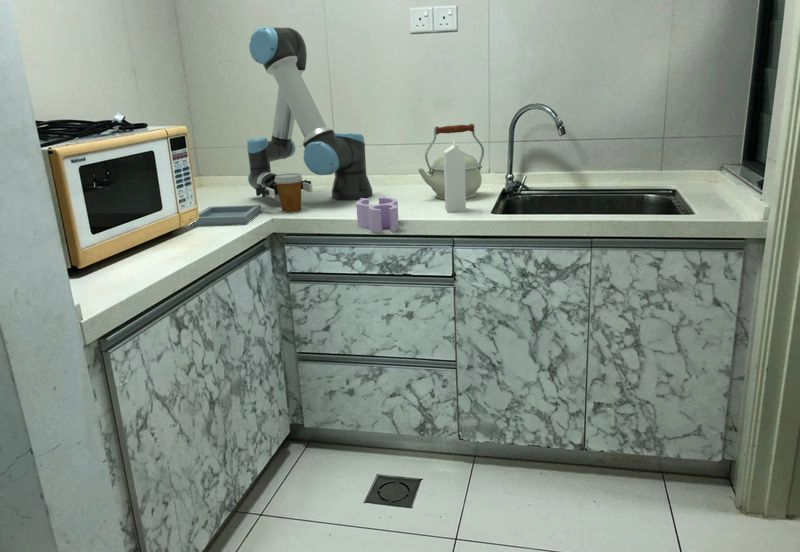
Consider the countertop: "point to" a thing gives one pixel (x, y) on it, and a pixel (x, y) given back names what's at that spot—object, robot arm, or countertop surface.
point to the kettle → (437, 172)
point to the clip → (378, 214)
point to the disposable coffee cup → (289, 191)
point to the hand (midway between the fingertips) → (292, 191)
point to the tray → (227, 215)
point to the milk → (454, 179)
